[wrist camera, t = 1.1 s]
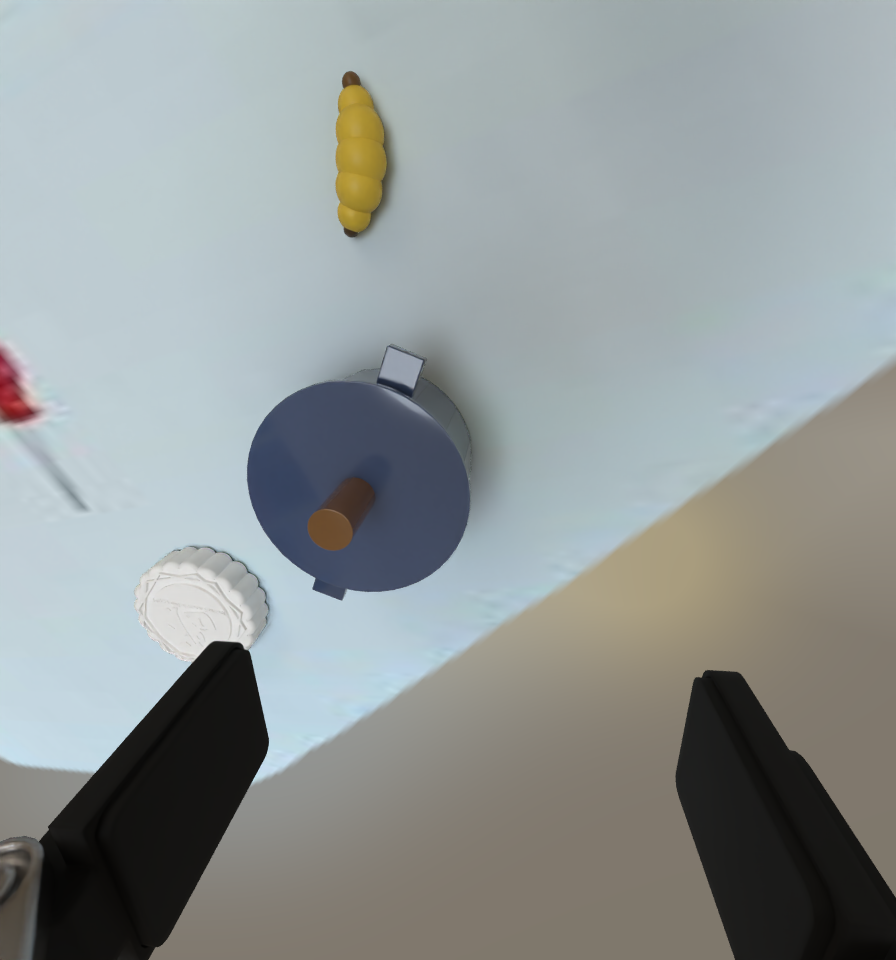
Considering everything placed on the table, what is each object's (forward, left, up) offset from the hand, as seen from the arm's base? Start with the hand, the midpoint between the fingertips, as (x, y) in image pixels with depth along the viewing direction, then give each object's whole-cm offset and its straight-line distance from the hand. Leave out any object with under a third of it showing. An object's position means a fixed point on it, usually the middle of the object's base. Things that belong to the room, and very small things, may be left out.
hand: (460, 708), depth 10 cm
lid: (-5, -8, -20) cm, 22 cm away
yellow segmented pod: (-17, +8, -29) cm, 34 cm away
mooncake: (-11, -32, -29) cm, 45 cm away
